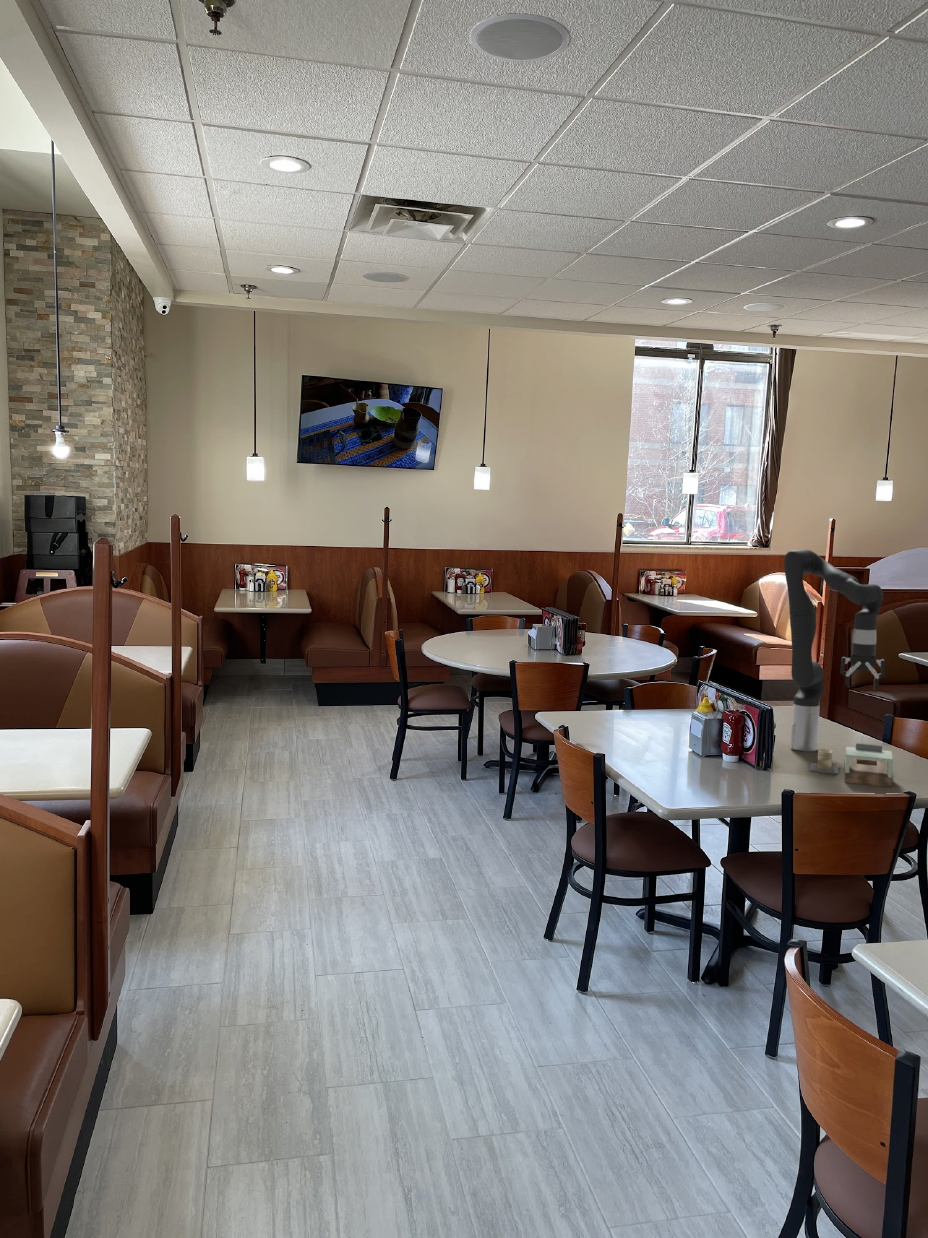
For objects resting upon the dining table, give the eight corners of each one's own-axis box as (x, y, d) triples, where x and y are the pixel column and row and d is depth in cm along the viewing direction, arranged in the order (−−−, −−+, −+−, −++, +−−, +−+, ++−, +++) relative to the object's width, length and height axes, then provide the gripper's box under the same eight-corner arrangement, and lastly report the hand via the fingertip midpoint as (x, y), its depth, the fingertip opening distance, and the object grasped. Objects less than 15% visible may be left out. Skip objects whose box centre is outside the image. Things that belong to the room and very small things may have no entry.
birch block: (817, 768, 312) (818, 751, 311) (817, 765, 316) (818, 748, 315) (831, 770, 310) (832, 753, 309) (831, 766, 314) (832, 750, 314)
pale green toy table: (845, 772, 298) (846, 748, 297) (845, 764, 308) (846, 740, 307) (891, 777, 292) (893, 753, 292) (890, 768, 303) (891, 745, 302)
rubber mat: (809, 771, 311) (810, 769, 311) (810, 764, 319) (810, 762, 319) (838, 774, 307) (838, 772, 307) (838, 767, 316) (838, 765, 316)
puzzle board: (844, 782, 299) (845, 773, 298) (844, 762, 322) (844, 754, 321) (891, 787, 293) (891, 778, 293) (887, 767, 316) (887, 758, 316)
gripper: (886, 641, 313) (883, 687, 315) (842, 639, 318) (839, 684, 320) (887, 644, 306) (884, 691, 308) (842, 642, 311) (839, 688, 313)
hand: (861, 687), depth 314 cm, fingers open, 8 cm apart
